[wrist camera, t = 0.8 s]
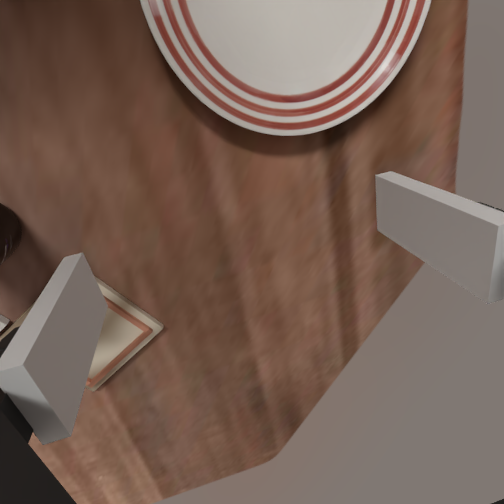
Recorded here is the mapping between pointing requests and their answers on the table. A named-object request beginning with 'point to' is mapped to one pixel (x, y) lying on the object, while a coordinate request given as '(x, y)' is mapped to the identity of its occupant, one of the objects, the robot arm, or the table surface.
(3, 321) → the ink pad
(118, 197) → the table surface
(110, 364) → the board
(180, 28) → the dinner plate
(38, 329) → the robot arm
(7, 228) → the supplement bottle
